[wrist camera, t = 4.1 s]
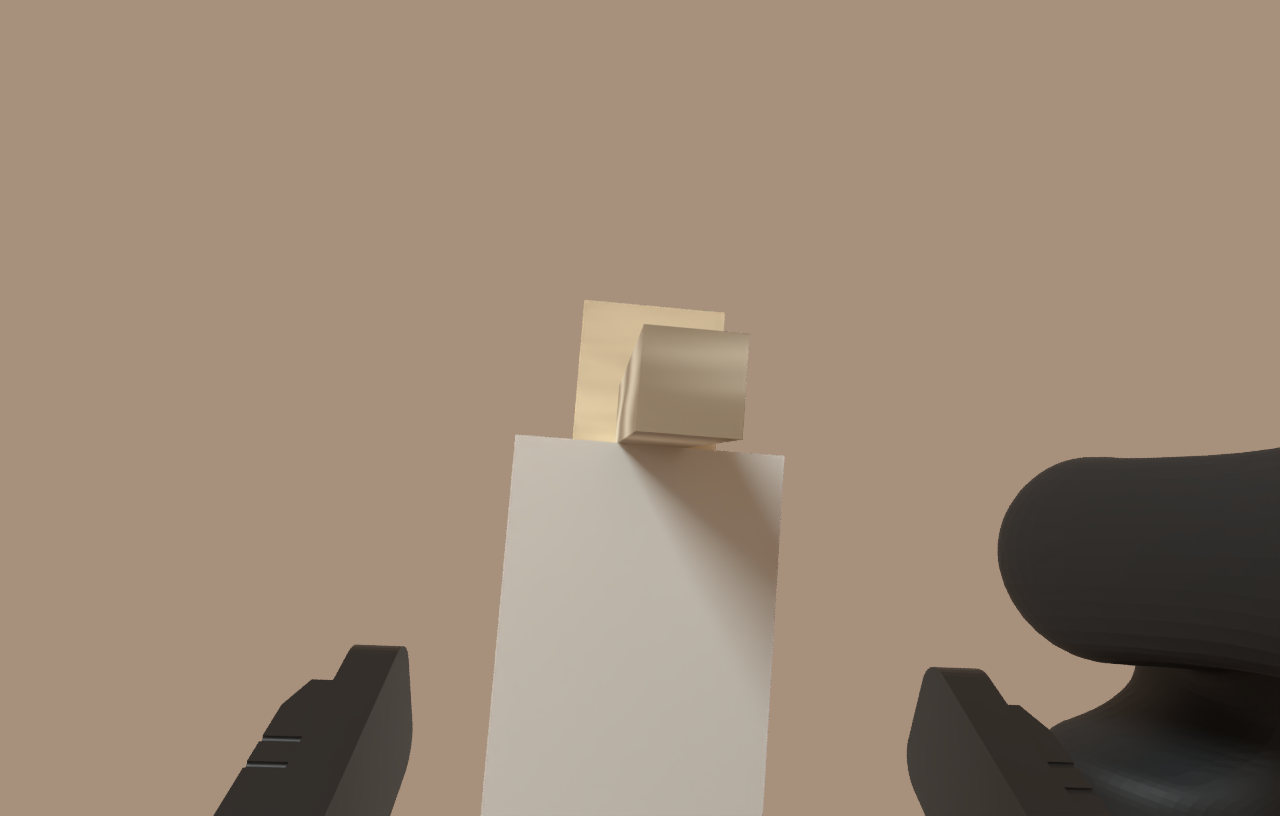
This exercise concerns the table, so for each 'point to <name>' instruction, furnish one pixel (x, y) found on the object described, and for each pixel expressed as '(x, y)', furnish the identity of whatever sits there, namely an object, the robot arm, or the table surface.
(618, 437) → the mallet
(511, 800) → the stand
